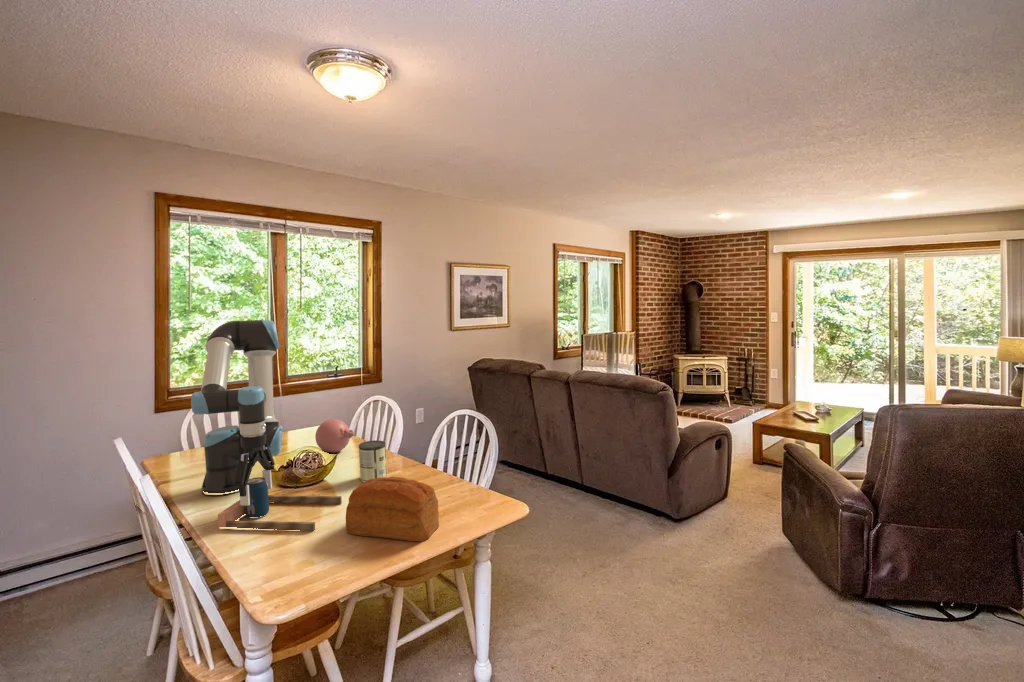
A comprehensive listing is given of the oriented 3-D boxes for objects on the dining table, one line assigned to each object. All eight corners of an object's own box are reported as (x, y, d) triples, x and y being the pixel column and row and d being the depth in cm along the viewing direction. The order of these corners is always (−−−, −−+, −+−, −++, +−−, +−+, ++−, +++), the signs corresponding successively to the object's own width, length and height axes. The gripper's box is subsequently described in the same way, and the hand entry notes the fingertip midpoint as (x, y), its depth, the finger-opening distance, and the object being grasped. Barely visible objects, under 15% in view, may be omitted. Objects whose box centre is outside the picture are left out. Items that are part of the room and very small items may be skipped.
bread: (422, 546, 152) (421, 493, 151) (340, 537, 158) (338, 486, 157) (443, 522, 168) (442, 474, 166) (367, 515, 174) (365, 468, 173)
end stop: (218, 530, 164) (217, 514, 164) (257, 501, 186) (257, 488, 186) (226, 530, 164) (225, 514, 163) (264, 502, 186) (263, 488, 186)
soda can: (269, 509, 179) (268, 475, 178) (268, 517, 173) (266, 482, 172) (247, 513, 177) (245, 478, 176) (245, 521, 170) (243, 485, 169)
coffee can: (365, 474, 214) (364, 440, 213) (390, 474, 213) (389, 440, 212) (355, 482, 204) (354, 447, 203) (381, 483, 203) (380, 447, 202)
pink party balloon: (341, 460, 233) (339, 426, 232) (308, 454, 242) (307, 421, 241) (365, 450, 247) (364, 418, 245) (333, 445, 256) (332, 414, 254)
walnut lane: (226, 530, 164) (225, 522, 164) (264, 502, 186) (264, 495, 186) (313, 531, 162) (313, 523, 162) (341, 503, 184) (341, 496, 184)
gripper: (242, 445, 160) (246, 512, 162) (283, 424, 184) (286, 482, 187) (218, 445, 160) (223, 512, 162) (262, 423, 185) (265, 482, 187)
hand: (256, 496), depth 175 cm, fingers open, 13 cm apart
